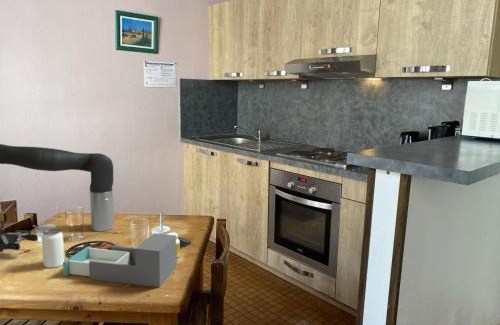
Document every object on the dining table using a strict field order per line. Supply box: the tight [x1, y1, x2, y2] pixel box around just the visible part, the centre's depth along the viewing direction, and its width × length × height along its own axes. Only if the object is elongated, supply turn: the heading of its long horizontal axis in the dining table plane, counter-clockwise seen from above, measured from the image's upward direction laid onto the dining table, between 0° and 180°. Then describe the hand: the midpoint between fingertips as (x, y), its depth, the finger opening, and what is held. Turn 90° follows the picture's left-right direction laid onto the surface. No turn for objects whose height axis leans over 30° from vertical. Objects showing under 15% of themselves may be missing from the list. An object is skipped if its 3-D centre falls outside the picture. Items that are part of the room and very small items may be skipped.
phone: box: [177, 236, 192, 250], centre depth 160 cm, size 8×1×15 cm
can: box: [41, 228, 65, 269], centre depth 135 cm, size 6×6×12 cm
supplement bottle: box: [166, 232, 181, 262], centre depth 143 cm, size 5×5×10 cm
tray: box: [62, 245, 131, 277], centre depth 133 cm, size 14×17×4 cm
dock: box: [89, 233, 177, 288], centre depth 130 cm, size 14×24×12 cm, turn 80°
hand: (28, 242), depth 137 cm, fingers open, 8 cm apart
